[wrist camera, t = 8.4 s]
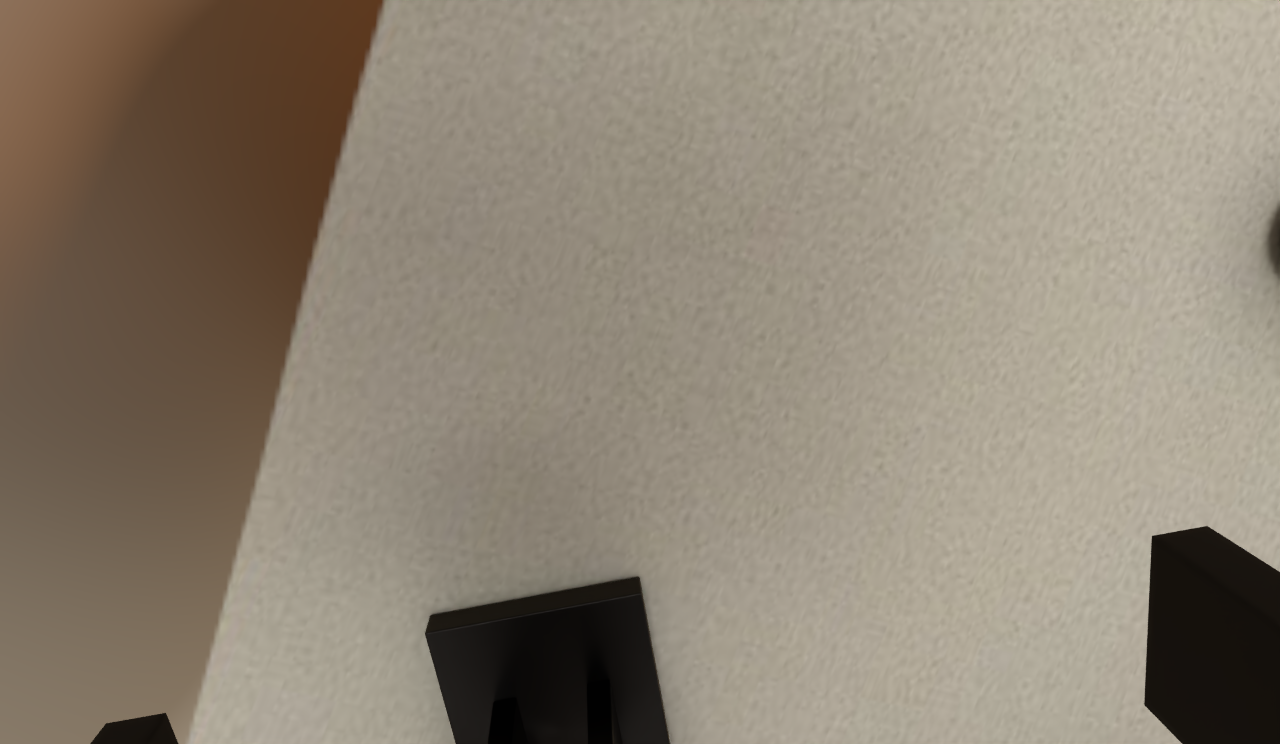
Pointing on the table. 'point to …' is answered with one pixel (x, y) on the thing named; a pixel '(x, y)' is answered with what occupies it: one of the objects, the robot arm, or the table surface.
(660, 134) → the table surface
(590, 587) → the bracket
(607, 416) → the table surface
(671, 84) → the table surface
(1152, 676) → the robot arm
